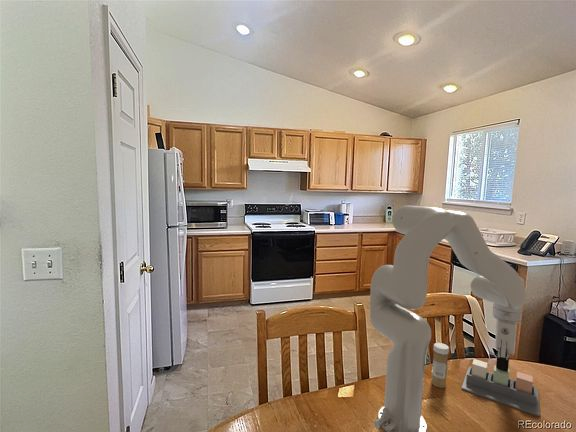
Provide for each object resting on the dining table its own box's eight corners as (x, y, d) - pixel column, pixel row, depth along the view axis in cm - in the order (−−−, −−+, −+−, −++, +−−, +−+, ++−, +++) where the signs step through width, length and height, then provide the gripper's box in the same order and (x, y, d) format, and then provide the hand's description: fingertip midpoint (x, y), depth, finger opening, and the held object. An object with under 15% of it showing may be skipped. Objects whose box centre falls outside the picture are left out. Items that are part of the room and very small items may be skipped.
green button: (507, 388, 101) (508, 374, 100) (492, 383, 103) (493, 370, 102) (508, 382, 104) (509, 369, 103) (493, 377, 106) (494, 364, 106)
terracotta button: (531, 396, 97) (532, 382, 97) (515, 391, 99) (516, 377, 99) (531, 389, 100) (532, 376, 100) (515, 384, 103) (516, 371, 102)
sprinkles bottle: (448, 384, 106) (451, 345, 105) (443, 390, 103) (446, 350, 102) (434, 378, 109) (437, 340, 108) (428, 383, 106) (431, 345, 105)
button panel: (539, 416, 92) (540, 405, 92) (461, 389, 104) (462, 378, 104) (537, 392, 103) (538, 381, 103) (467, 370, 115) (468, 360, 115)
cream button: (485, 381, 104) (486, 368, 104) (471, 376, 106) (472, 363, 106) (486, 375, 107) (487, 362, 107) (472, 371, 110) (473, 358, 109)
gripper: (521, 325, 93) (515, 384, 95) (521, 309, 105) (516, 362, 107) (490, 318, 97) (486, 375, 99) (494, 304, 109) (490, 355, 111)
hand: (502, 368), depth 103 cm, fingers closed
